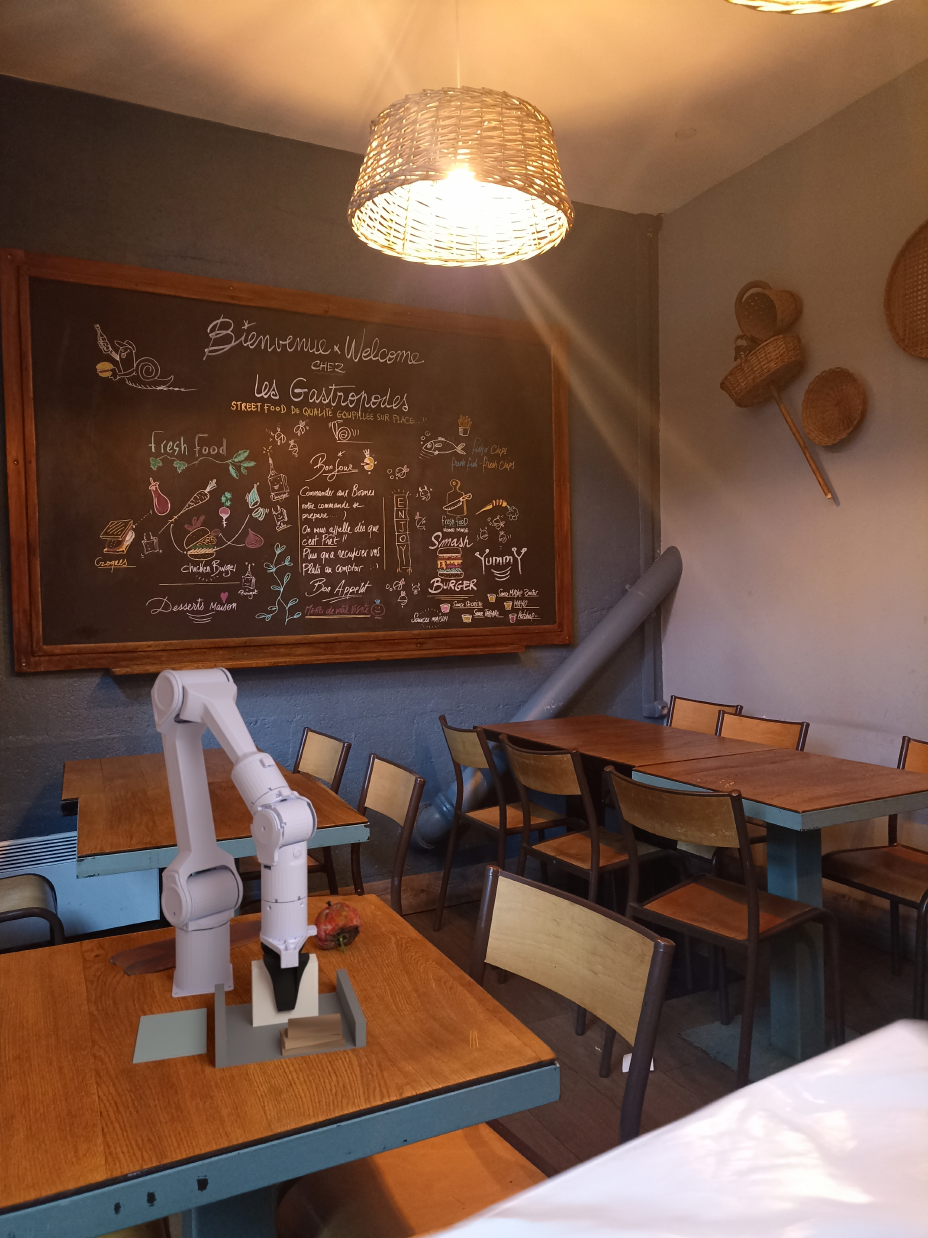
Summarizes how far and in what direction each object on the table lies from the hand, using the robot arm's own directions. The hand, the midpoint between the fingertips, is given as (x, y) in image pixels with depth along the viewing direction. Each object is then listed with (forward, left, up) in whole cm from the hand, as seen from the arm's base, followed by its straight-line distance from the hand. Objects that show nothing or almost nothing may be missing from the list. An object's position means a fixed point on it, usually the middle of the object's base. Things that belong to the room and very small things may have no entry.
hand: (284, 1003), depth 108 cm
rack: (+2, 0, -2) cm, 3 cm away
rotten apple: (-23, +10, -2) cm, 25 cm away
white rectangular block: (0, 0, -2) cm, 2 cm away
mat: (0, -14, -2) cm, 14 cm away
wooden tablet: (-30, -10, -3) cm, 32 cm away
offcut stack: (+8, +2, -2) cm, 9 cm away
